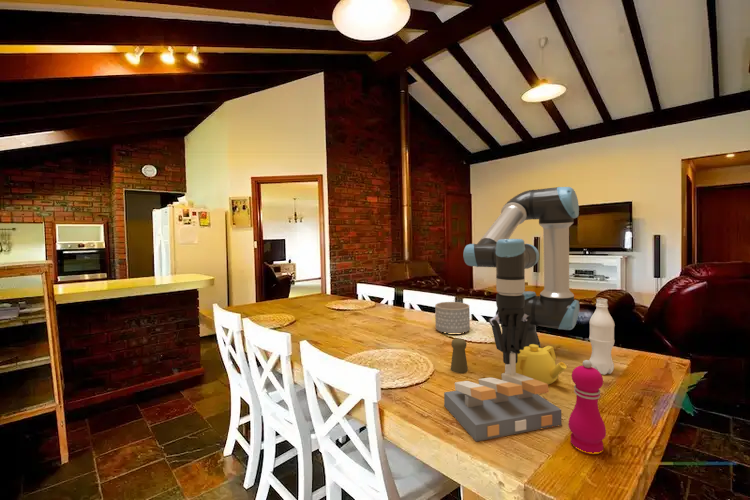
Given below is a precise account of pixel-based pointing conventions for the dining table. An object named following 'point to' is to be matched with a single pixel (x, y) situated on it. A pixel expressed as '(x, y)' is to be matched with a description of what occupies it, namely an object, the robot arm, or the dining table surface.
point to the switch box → (501, 414)
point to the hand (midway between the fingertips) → (510, 374)
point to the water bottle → (602, 338)
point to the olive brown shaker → (459, 356)
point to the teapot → (539, 363)
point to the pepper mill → (587, 409)
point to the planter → (452, 317)
